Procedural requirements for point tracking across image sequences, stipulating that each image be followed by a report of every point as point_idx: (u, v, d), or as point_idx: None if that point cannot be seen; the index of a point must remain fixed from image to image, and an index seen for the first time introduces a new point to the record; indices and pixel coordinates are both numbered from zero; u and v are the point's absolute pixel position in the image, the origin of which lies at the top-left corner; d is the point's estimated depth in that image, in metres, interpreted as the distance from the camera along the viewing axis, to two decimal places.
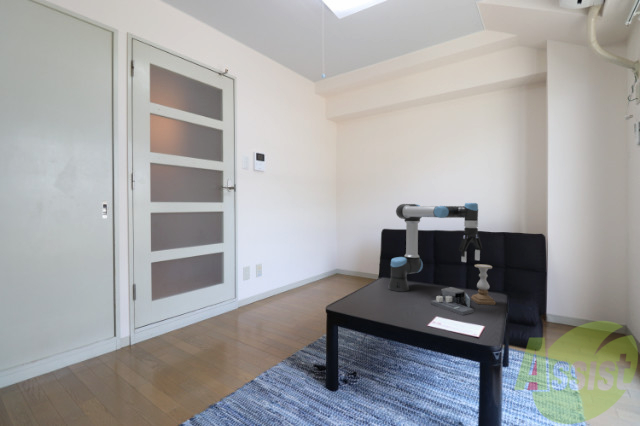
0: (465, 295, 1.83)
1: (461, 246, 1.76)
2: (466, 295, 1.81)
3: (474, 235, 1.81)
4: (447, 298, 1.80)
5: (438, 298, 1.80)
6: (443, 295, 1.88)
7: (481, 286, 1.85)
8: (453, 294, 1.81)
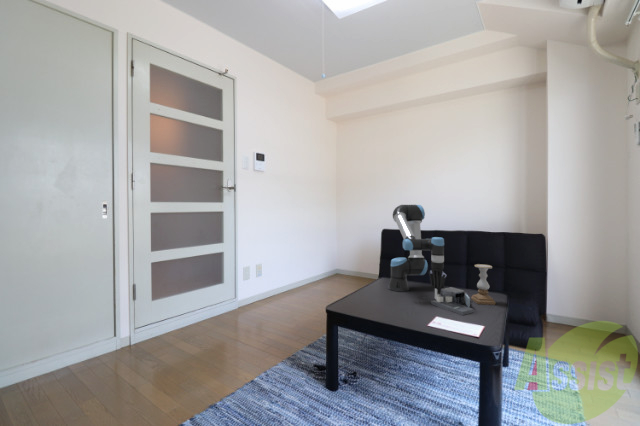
0: (465, 295, 1.83)
1: None
2: (466, 295, 1.81)
3: (439, 269, 1.79)
4: (447, 298, 1.80)
5: (438, 298, 1.79)
6: (443, 295, 1.88)
7: (481, 286, 1.85)
8: (453, 294, 1.81)
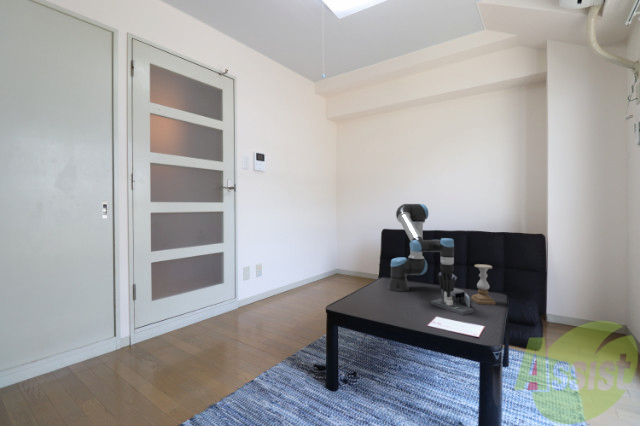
0: (465, 295, 1.83)
1: None
2: (466, 295, 1.81)
3: (449, 271, 1.73)
4: None
5: (448, 301, 1.73)
6: None
7: (481, 286, 1.85)
8: (453, 294, 1.81)
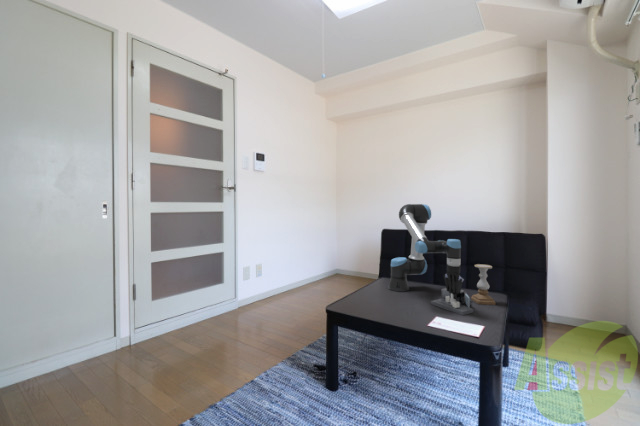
0: (465, 295, 1.83)
1: None
2: (466, 295, 1.81)
3: (456, 273, 1.69)
4: (447, 298, 1.80)
5: (455, 303, 1.69)
6: (443, 295, 1.88)
7: (481, 286, 1.85)
8: None
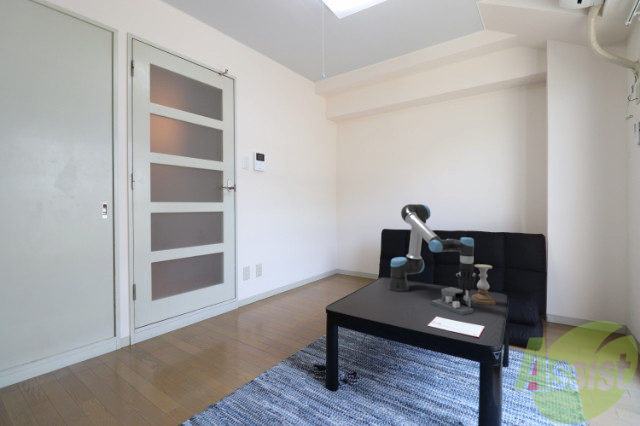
0: None
1: (459, 285, 1.78)
2: None
3: (471, 270, 1.77)
4: (447, 298, 1.80)
5: (455, 303, 1.69)
6: (443, 295, 1.88)
7: (481, 286, 1.85)
8: (453, 294, 1.81)
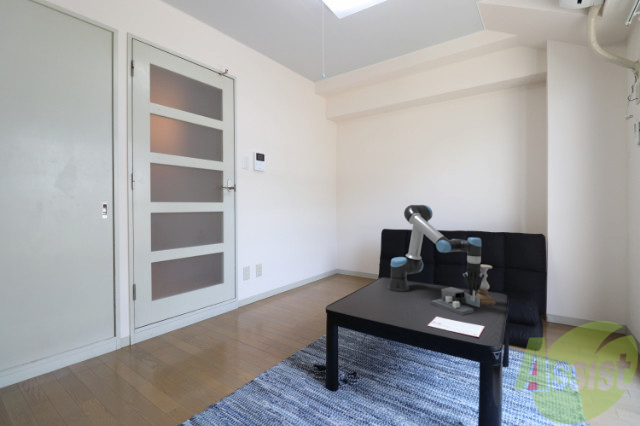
0: (467, 295, 1.82)
1: (466, 285, 1.78)
2: (470, 295, 1.81)
3: (478, 270, 1.77)
4: (447, 298, 1.80)
5: (455, 303, 1.69)
6: (443, 295, 1.88)
7: (481, 286, 1.85)
8: (453, 294, 1.81)
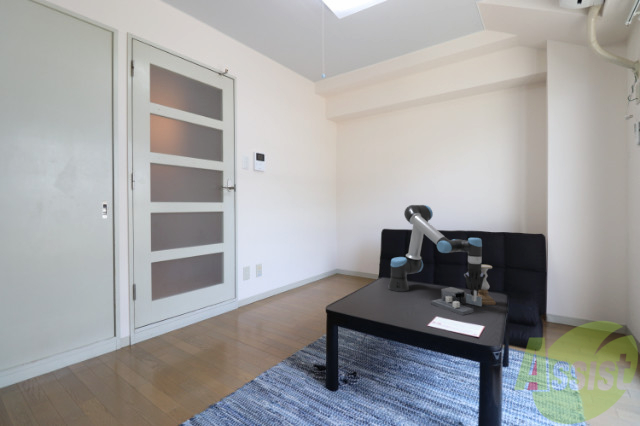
0: (468, 295, 1.82)
1: (467, 285, 1.78)
2: (471, 295, 1.81)
3: (479, 270, 1.77)
4: (447, 298, 1.80)
5: (455, 303, 1.69)
6: (443, 295, 1.88)
7: None
8: (453, 294, 1.81)
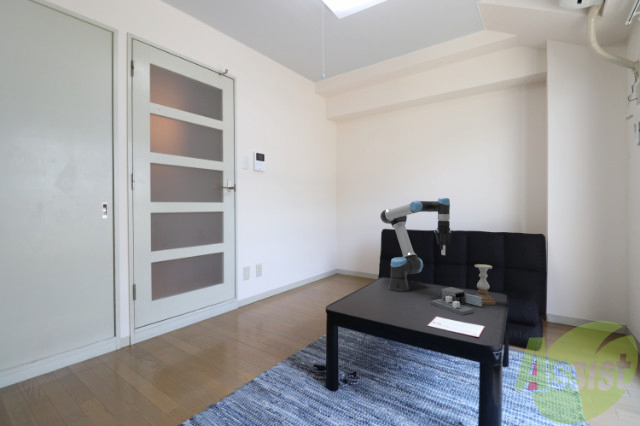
0: (468, 295, 1.82)
1: (437, 241, 1.97)
2: (471, 295, 1.81)
3: (448, 227, 1.96)
4: (447, 298, 1.80)
5: (455, 303, 1.69)
6: (443, 295, 1.88)
7: (481, 286, 1.85)
8: (453, 294, 1.81)
